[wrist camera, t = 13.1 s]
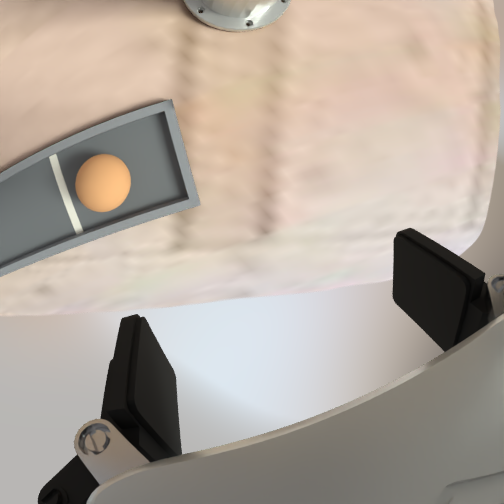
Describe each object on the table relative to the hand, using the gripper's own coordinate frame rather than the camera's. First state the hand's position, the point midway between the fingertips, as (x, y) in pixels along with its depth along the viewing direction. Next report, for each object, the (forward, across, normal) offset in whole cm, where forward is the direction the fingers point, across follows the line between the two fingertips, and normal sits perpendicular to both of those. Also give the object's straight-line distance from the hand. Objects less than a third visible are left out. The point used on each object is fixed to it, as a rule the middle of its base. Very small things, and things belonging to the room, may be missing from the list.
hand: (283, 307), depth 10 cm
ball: (+23, +11, -3) cm, 26 cm away
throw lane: (+26, +20, -4) cm, 33 cm away
